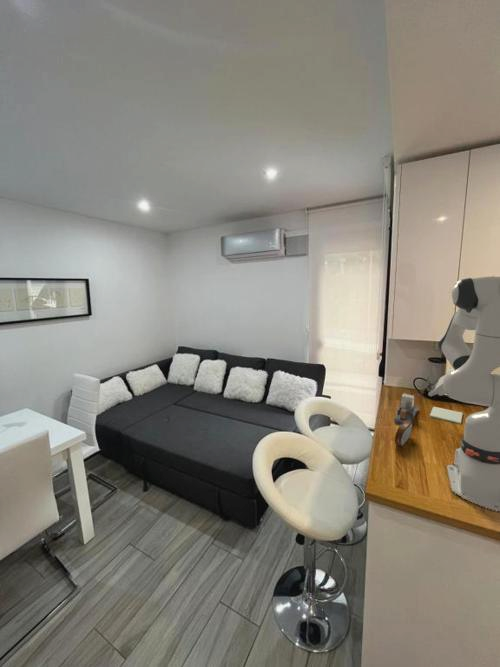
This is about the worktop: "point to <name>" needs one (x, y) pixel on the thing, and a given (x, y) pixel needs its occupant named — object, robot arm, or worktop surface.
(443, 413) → the cutting board
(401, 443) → the tin
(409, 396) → the grey rectangular block
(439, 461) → the worktop surface
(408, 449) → the worktop surface
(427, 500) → the worktop surface
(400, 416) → the hand plane
